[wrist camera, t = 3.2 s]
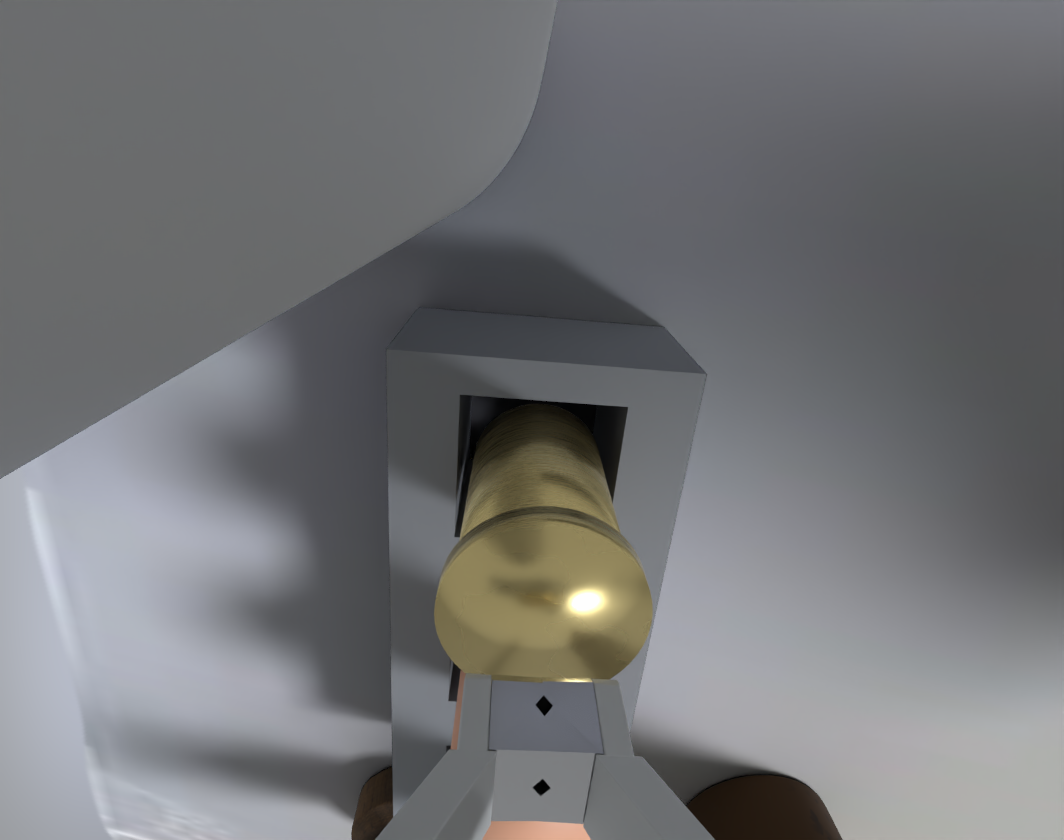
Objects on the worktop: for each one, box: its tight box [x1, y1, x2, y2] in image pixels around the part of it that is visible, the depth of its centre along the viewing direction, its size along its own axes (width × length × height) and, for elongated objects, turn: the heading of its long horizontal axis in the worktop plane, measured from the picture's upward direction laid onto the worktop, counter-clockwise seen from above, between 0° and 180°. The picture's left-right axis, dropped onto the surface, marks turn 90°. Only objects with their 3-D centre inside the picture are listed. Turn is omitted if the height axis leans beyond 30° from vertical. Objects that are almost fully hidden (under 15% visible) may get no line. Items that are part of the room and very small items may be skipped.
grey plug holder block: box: [386, 307, 707, 817], centre depth 25 cm, size 10×24×6 cm, turn 175°
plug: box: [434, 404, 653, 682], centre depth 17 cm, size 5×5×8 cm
